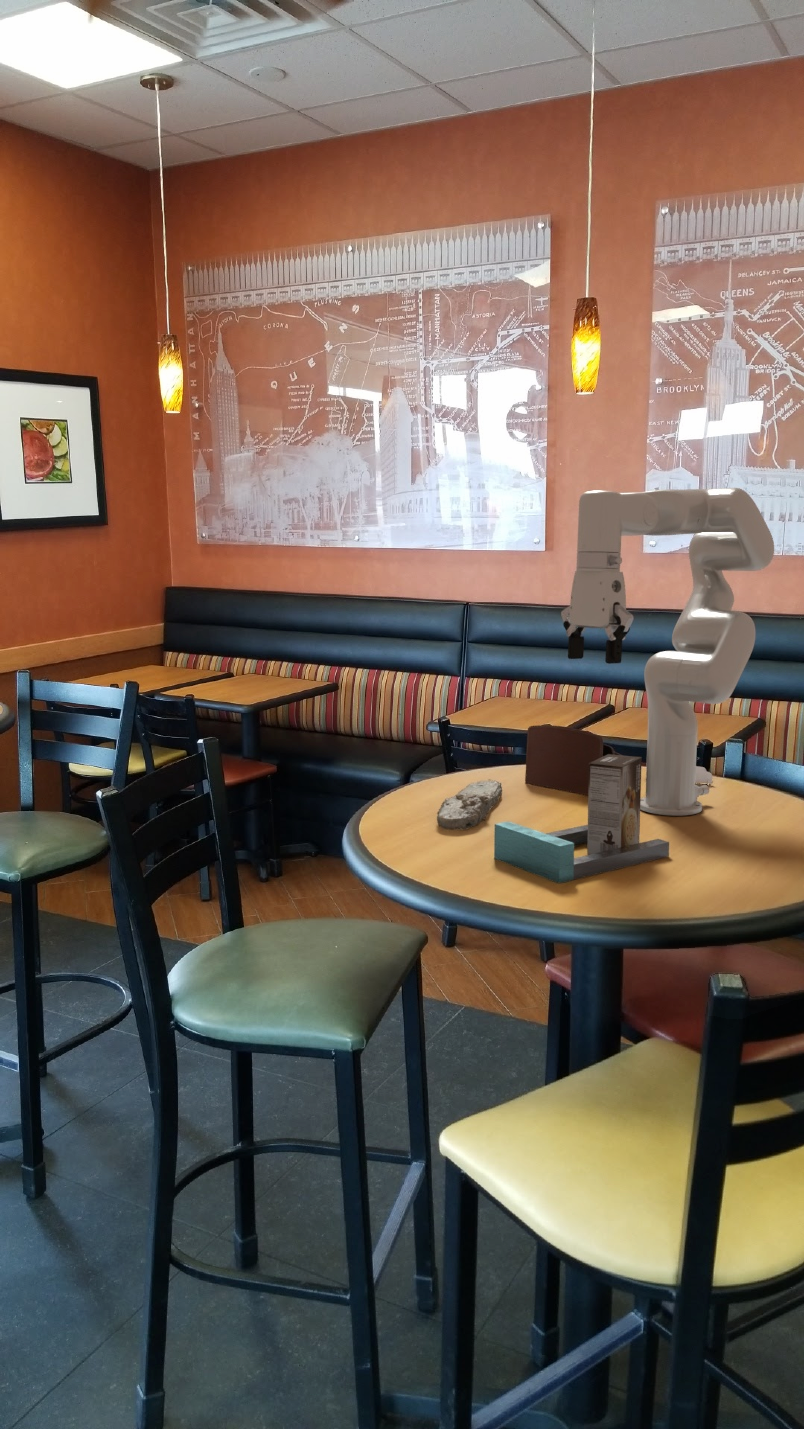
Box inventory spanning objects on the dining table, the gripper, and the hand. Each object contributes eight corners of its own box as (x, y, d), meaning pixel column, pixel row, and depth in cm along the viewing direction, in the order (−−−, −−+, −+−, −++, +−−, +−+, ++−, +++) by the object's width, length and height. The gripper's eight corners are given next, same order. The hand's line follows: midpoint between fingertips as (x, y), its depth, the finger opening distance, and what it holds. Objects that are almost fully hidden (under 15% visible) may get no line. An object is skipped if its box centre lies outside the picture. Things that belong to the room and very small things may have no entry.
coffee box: (605, 841, 185) (607, 752, 182) (640, 846, 181) (643, 756, 179) (585, 854, 177) (588, 762, 175) (621, 859, 174) (624, 766, 171)
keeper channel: (600, 835, 189) (601, 803, 188) (668, 856, 176) (670, 822, 175) (494, 858, 175) (494, 823, 174) (559, 883, 162) (559, 846, 161)
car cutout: (715, 784, 231) (716, 764, 230) (711, 790, 225) (712, 770, 224) (648, 778, 237) (648, 759, 236) (641, 784, 231) (642, 764, 230)
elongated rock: (512, 799, 222) (467, 799, 225) (511, 775, 222) (466, 775, 225) (479, 833, 189) (426, 832, 192) (478, 804, 188) (425, 804, 191)
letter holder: (599, 799, 216) (601, 732, 214) (524, 784, 230) (525, 721, 228) (625, 791, 223) (627, 726, 221) (551, 777, 237) (552, 716, 235)
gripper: (649, 563, 176) (644, 664, 178) (581, 563, 190) (577, 656, 193) (617, 563, 172) (612, 665, 174) (549, 562, 186) (545, 657, 189)
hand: (593, 660), depth 183 cm, fingers open, 9 cm apart
